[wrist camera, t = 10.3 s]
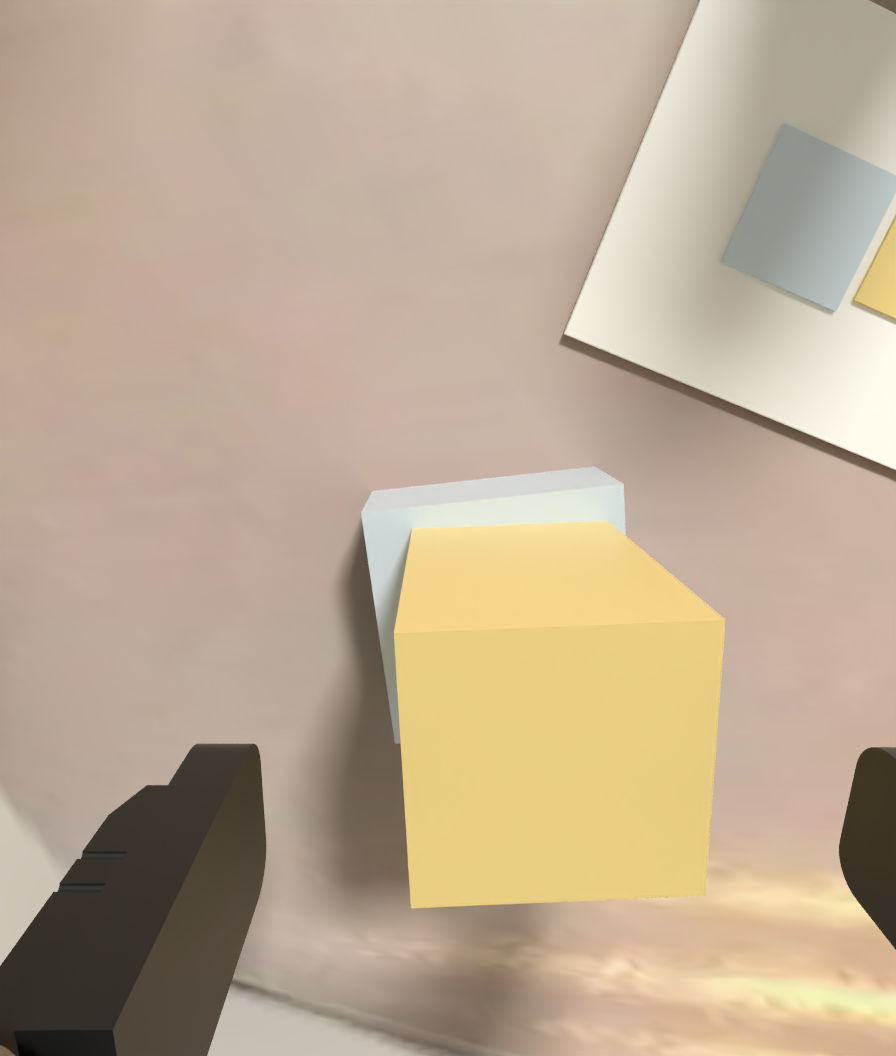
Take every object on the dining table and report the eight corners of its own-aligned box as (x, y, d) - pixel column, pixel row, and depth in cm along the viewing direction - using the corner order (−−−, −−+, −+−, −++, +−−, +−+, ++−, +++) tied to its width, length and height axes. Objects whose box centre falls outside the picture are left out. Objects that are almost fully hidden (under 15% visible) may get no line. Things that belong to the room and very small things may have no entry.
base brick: (401, 685, 18) (395, 743, 16) (374, 488, 17) (360, 513, 14) (601, 663, 18) (632, 718, 16) (591, 464, 17) (623, 483, 14)
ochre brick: (421, 705, 15) (411, 908, 9) (411, 528, 14) (394, 633, 8) (603, 698, 15) (705, 895, 9) (607, 520, 14) (725, 620, 8)
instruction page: (563, 334, 16) (565, 333, 15) (725, -64, 14) (731, -73, 13) (963, 498, 17) (972, 500, 17) (1165, 156, 15) (1179, 152, 15)
